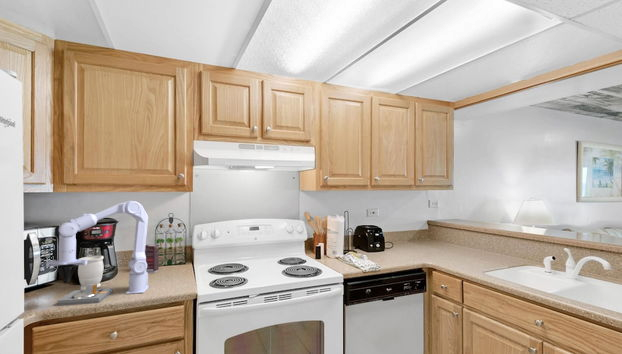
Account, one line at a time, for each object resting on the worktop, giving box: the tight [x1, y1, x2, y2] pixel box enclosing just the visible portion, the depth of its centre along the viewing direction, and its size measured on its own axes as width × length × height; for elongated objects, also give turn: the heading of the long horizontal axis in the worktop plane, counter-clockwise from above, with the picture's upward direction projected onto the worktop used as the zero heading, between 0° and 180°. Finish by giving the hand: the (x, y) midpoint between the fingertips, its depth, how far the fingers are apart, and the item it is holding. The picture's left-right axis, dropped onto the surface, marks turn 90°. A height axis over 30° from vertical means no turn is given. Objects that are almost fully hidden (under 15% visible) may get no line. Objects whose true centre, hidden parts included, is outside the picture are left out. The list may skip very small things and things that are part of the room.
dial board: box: [56, 287, 113, 307], centre depth 136 cm, size 13×16×2 cm
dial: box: [74, 284, 99, 298], centre depth 136 cm, size 9×9×5 cm
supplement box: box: [145, 244, 160, 274], centre depth 178 cm, size 9×5×16 cm, turn 86°
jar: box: [77, 255, 105, 290], centre depth 151 cm, size 11×10×15 cm
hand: (66, 282), depth 128 cm, fingers closed
